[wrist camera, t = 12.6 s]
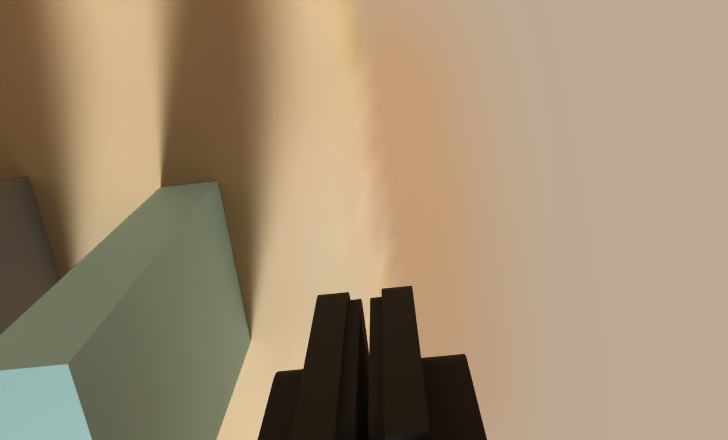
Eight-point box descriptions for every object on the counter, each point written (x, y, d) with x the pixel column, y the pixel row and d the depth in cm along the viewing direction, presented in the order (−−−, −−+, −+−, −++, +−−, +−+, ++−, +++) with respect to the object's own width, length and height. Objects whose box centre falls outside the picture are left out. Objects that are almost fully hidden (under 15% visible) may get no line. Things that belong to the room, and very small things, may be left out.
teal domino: (160, 187, 17) (-44, 375, 9) (217, 180, 17) (67, 363, 9) (198, 346, 19) (57, 631, 11) (250, 341, 19) (151, 624, 10)
